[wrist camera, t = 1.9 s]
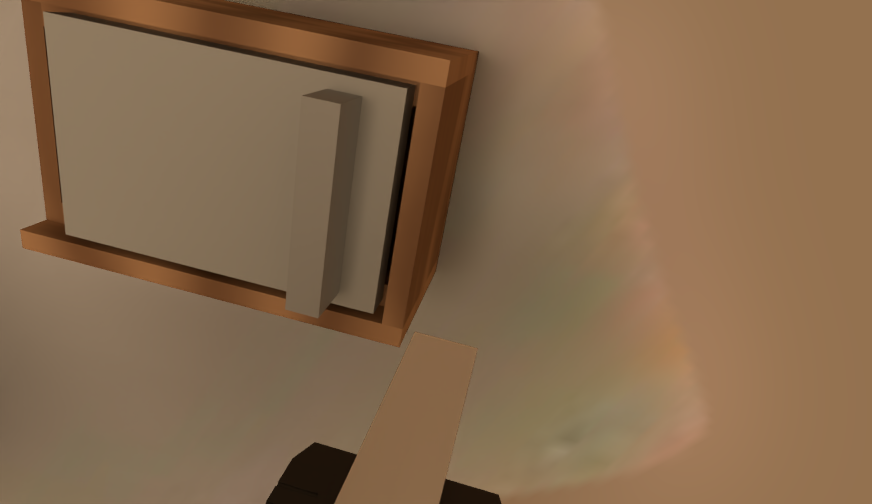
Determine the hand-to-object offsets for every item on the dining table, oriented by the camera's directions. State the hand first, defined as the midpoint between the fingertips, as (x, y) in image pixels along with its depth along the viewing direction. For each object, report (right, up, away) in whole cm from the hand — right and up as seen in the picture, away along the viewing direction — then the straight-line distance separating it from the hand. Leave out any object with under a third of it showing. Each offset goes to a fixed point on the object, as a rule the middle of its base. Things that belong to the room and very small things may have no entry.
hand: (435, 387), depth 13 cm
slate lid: (-9, +7, +13) cm, 18 cm away
